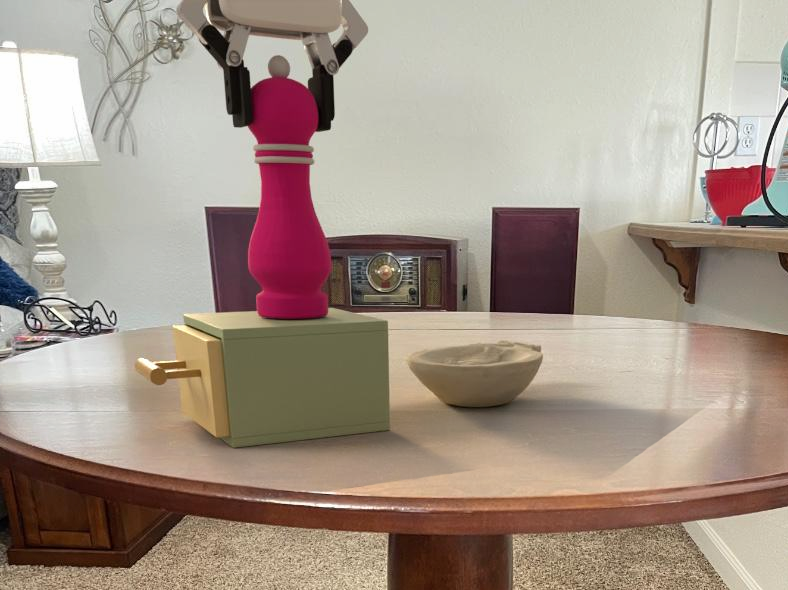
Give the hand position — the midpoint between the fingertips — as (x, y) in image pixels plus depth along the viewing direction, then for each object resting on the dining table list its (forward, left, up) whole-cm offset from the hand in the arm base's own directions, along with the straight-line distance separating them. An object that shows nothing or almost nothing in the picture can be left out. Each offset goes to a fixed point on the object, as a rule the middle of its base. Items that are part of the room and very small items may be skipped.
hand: (282, 126), depth 73 cm
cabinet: (-1, 0, -25) cm, 25 cm away
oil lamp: (+23, +4, -25) cm, 34 cm away
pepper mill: (0, 0, -15) cm, 15 cm away
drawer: (-5, 0, -24) cm, 24 cm away
